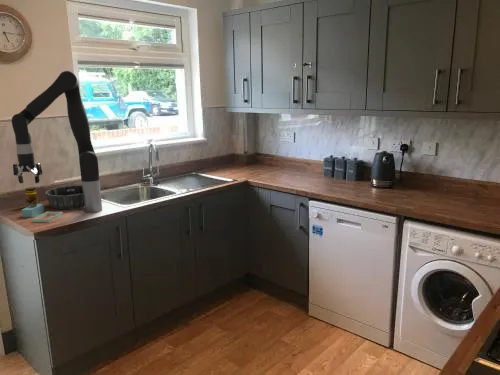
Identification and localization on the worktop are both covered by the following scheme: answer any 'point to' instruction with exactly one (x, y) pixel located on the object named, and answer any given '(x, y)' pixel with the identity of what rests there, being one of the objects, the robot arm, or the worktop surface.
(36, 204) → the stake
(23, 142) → the robot arm
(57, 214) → the tray
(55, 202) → the bundt pan
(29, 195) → the condiment
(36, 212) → the slotted block
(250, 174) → the worktop surface
